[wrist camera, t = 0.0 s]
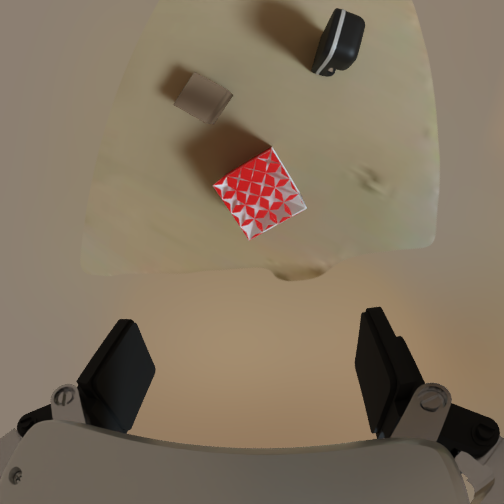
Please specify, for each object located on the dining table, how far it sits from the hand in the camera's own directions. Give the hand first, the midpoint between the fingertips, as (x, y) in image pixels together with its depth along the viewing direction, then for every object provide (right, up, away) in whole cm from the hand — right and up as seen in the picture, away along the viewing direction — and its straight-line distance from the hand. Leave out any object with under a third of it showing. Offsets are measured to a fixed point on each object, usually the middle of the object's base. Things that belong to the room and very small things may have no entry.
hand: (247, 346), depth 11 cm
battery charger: (+11, +31, +20) cm, 38 cm away
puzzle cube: (+2, +13, +29) cm, 32 cm away
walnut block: (-6, +25, +24) cm, 35 cm away
